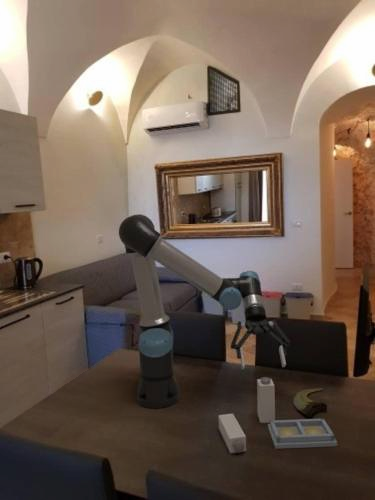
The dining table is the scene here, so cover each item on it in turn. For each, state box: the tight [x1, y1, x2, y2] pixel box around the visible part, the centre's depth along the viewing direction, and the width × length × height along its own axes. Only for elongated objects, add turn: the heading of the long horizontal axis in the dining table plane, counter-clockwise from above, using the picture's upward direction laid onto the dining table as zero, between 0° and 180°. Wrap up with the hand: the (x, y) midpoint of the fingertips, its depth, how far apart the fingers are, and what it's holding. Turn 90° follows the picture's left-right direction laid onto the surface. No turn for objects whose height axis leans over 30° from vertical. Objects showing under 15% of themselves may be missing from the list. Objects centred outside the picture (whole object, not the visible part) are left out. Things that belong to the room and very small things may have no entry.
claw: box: [293, 387, 328, 418], centre depth 130 cm, size 20×10×3 cm, turn 168°
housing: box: [267, 418, 338, 450], centre depth 112 cm, size 17×10×3 cm, turn 90°
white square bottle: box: [256, 376, 276, 424], centre depth 121 cm, size 4×4×13 cm
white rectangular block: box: [218, 413, 247, 454], centre depth 112 cm, size 13×4×4 cm, turn 10°
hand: (263, 366), depth 129 cm, fingers open, 13 cm apart
